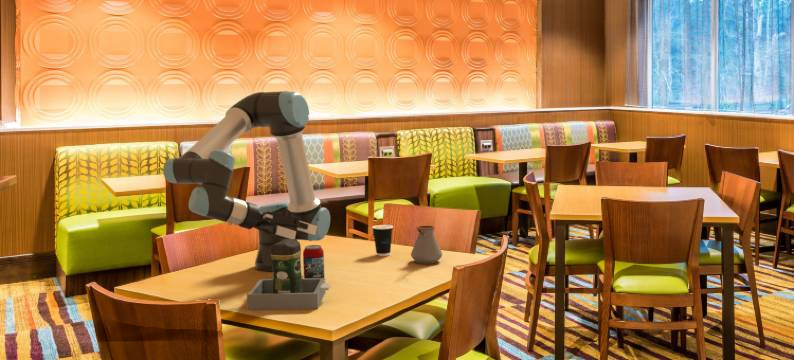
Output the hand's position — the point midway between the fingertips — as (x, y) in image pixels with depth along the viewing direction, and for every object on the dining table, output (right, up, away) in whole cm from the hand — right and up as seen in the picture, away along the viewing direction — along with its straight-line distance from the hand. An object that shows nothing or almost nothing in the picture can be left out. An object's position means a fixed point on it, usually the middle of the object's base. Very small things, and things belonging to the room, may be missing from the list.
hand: (305, 233), depth 231 cm
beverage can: (+1, -18, +17) cm, 24 cm away
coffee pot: (+38, -14, +39) cm, 56 cm away
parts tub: (-3, -20, -5) cm, 21 cm away
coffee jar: (-4, -20, -5) cm, 21 cm away
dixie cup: (+23, -13, +57) cm, 63 cm away
